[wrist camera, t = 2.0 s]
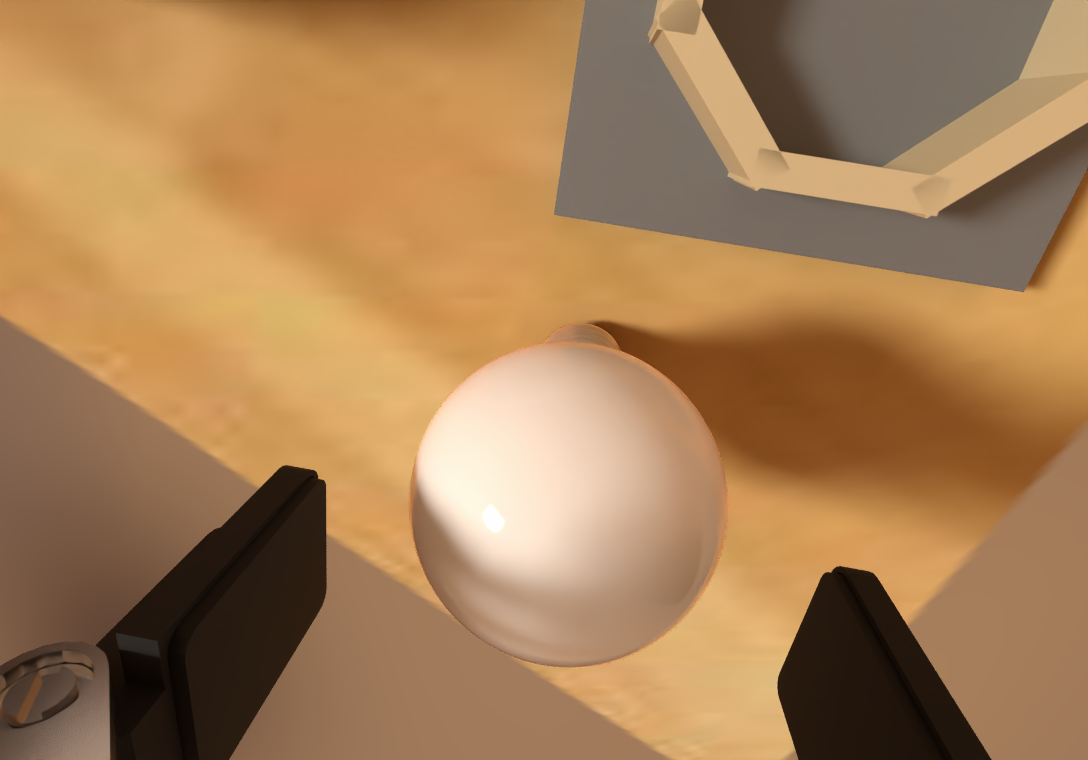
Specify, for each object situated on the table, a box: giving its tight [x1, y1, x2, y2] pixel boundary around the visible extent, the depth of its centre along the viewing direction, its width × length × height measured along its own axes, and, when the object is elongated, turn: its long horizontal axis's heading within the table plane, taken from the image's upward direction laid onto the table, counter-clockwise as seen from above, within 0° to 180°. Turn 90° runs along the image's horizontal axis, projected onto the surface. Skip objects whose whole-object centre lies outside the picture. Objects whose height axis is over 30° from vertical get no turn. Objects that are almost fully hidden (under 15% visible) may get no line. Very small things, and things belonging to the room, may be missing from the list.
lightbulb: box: [409, 323, 728, 668], centre depth 14 cm, size 6×6×11 cm
